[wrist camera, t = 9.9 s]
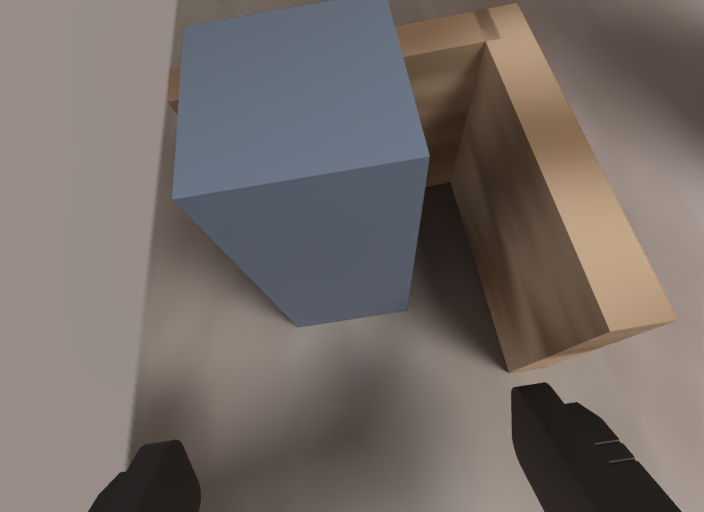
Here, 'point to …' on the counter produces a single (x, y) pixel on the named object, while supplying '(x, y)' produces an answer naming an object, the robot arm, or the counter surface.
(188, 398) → the counter surface
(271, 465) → the counter surface
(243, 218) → the slate block
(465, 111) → the oak corner bracket
